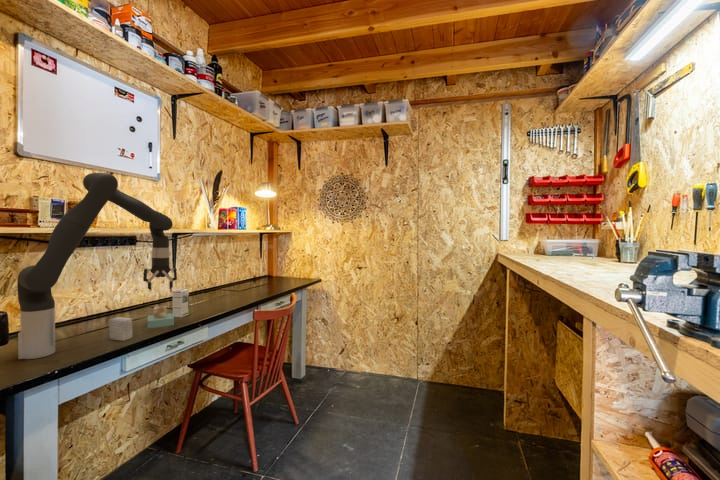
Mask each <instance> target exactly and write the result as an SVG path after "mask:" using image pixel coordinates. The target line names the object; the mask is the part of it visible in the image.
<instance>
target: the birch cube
mask: <svg viewBox="0 0 720 480" xmlns="http://www.w3.org/2000/svg"><path fill="white" fill-rule="evenodd" d="M166 314H167V305H158V306H154V308H153V315H154V319H159V318H166Z"/></svg>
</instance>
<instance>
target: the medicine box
mask: <svg viewBox="0 0 720 480" xmlns="http://www.w3.org/2000/svg"><path fill="white" fill-rule="evenodd" d="M108 338H109V340H112V341H113V340H114V341H123V342H124V341H127V340H130V339H133V318H130V317H122V316H121V317H120V316H117V317H113V318H110V319H108Z"/></svg>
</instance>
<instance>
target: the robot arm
mask: <svg viewBox="0 0 720 480" xmlns="http://www.w3.org/2000/svg"><path fill="white" fill-rule="evenodd" d="M82 185H83V188H85V190H87V193H86V195H85V196H84V197H83V198H82V199H81V200H80V201H79V202H78V203H76V204H75V205H74V206H72V208H70V209H69V210H68V211H67V212H66V213H64V215H62V217H61V219H60V220H59V221H58V223H56V225H55V227H54V229H53V230H52V232H51V235H50V238H49V240H48V241H49V242H48V244H47V247H46V249H45V252H43V254H42V256H41V258H40V259H39V260H38V261H37V262H36V264H34V265H29V266H26V267H24V268H22V269H21V271H20V272H19V273H18V275H17V282H16V283H17V299H18V300H17V301H18V305H19V310H20V311H19V314H20V315H19V317H20V331H19V332H18V334H17V342H18V343H17V345H18V346H17V349H18V351H17V352H18V353H17V354H18V360H32V359H33V360H34V359H39V358H40V359H41V358H44V357H48V356H51V355H53V354H55V353H56V310H55V309H56V302H55V299H54V296H53V294H52V288H53V287H54V286H55V285H56V284H57V282H58V281H59V278H60V276H61V274H62V272H63V270H64V268H65V266H66V264H67V262H68V260H69V259H70V257H71V256H72V255H73V254H74V252H75V251H76V249H77V248H78V246H79V245H80V243H81V241H82V240H83V239H84V238H85V236H86V235H87V233H88V231H89V230H90V228H91V226H92V225H93V223H94V221H95V220H96V219H97V217H98V216H99V214H100V212H101V211H102V209H103V208H104V206H105V205H107V203H108V202H110V203H112V204H114V205H116V206H118V207H120V208H122V209H123V210H124V211H126V212H129V214H131V215H133V216H135V217H137V219H139V220H141V221H143V222H144V223H145V222H146V223H148V227H149V231H150V235H151V238H152V239H151V240H152V247H151V268H144V269H143V282H146V283H147V289H148V290H149V291H151V290H152V281H153V279H155V278H165V277H166V278H167V279H168V280H169V287H168V288H169V290H172V289H173V285H174V281H177V280H178V273H177V272H178V271H177V268H176V267H174V268H171V267H170V238H169V236H167V235H166V234H165V232H164V231H169V230H171V229H172V228H173V221H172V219H171V218H170V217H169V216H168V215H166V214H164V213H161V212H159V211H158V210H155V209H153V208H152V207H151V206H149V205H147V204H146V203H144V202H143V201H141V200H140V199H138V198H135V197H133V196H131V195H128V194H126V193H125V192H124V191H121V190H119V189H118V188H119V187H118V186H119V182H118V179H117V178H116V176H114V175H113V174H111V173H107V172H92V173H88V174H86V175H85V176H84V178H83V180H82ZM150 272H151V274H152V275H151V276H150V277H149V278H147V277H148V274H149V273H150ZM170 272H172V273H173V277H172V276H171V275H170Z"/></svg>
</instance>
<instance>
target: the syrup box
mask: <svg viewBox="0 0 720 480" xmlns="http://www.w3.org/2000/svg"><path fill="white" fill-rule="evenodd" d="M189 291H190V289H189V288H178V289H174V290H172V313H173V316H174V318H184V317H185V316H189V315H190V298H189V296H190V292H189Z"/></svg>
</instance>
